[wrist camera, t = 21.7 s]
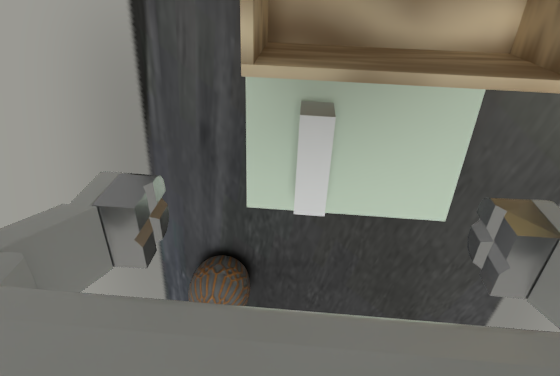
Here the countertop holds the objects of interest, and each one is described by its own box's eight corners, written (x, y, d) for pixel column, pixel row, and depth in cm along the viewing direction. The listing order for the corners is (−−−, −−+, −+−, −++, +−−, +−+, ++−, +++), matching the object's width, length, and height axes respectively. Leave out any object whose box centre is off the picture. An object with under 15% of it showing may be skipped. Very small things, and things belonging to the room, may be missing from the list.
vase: (263, 279, 48) (254, 337, 40) (217, 294, 50) (199, 353, 42) (235, 238, 45) (220, 293, 37) (187, 256, 47) (163, 312, 39)
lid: (247, 70, 36) (238, 85, 31) (481, 83, 35) (506, 100, 30) (248, 201, 43) (240, 228, 38) (441, 215, 42) (457, 244, 37)
